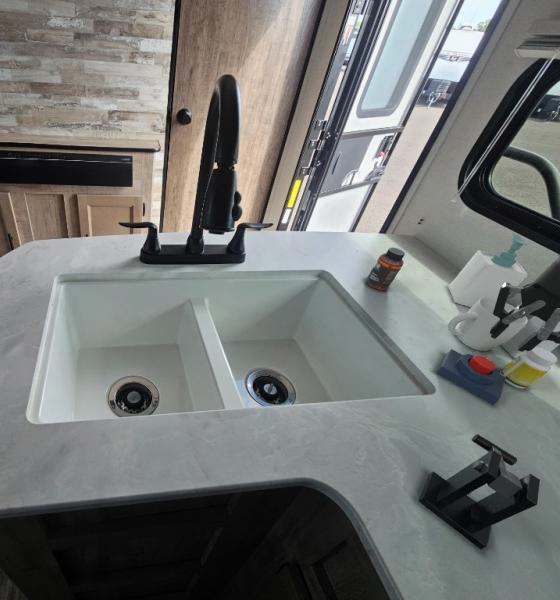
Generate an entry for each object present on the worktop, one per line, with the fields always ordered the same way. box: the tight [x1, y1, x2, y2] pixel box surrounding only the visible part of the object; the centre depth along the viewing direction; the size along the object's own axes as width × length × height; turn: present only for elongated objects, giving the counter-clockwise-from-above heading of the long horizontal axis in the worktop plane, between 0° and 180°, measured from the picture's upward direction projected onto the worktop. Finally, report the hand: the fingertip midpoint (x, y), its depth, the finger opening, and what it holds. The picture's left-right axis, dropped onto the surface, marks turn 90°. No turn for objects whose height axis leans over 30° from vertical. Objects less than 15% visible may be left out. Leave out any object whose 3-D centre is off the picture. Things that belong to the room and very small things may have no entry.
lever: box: [471, 433, 522, 499], centre depth 46 cm, size 12×5×2 cm, turn 134°
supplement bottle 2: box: [499, 347, 559, 389], centre depth 68 cm, size 5×5×8 cm
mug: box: [447, 298, 529, 352], centre depth 76 cm, size 13×9×10 cm
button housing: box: [435, 348, 506, 405], centre depth 69 cm, size 8×10×4 cm
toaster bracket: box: [418, 450, 541, 550], centre depth 45 cm, size 6×8×12 cm
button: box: [469, 354, 496, 374], centre depth 67 cm, size 4×4×2 cm
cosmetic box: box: [501, 316, 560, 359], centre depth 74 cm, size 6×4×12 cm
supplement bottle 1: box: [365, 247, 406, 291], centre depth 91 cm, size 6×6×11 cm
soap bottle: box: [448, 232, 529, 308], centre depth 87 cm, size 9×9×19 cm
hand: (506, 342), depth 63 cm, fingers open, 3 cm apart
